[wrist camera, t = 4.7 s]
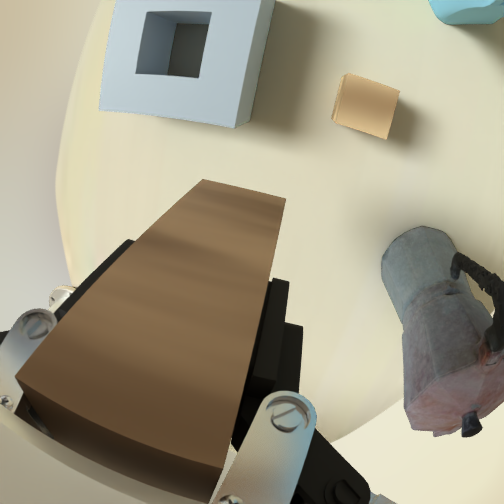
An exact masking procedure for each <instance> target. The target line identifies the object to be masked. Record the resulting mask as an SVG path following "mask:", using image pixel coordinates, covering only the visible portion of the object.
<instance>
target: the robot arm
mask: <svg viewBox="0 0 504 504" xmlns="http://www.w3.org/2000/svg"><path fill="white" fill-rule="evenodd" d="M134 242H135V241H133V240H130V239H127V240H126V241H125V242H124V243H123V244H122V245H121V246H119V247H118V248H117V249H116V250H115V251H114V252H113V253H112V254H111V255H110V256H109V257H108V258H107V259H106V260H105V261H104V262H103V263H102V264H101V265H100V266H99V267H98V268H97V269H96V270H95V271H93V272H92V273H91V274H90V275H89V276H88V277H87V278H86V279H85V280H84V281H83V282H82V283H81V285H80V286H79V287H78V288H77V289H76V288H73V287H70V286H58V287H57V288H55V289H54V290H53V291H52V292H51V294H50V296H49V306H50V308H49V309H48V310H46V309H40V308H39V309H32V310H29V311H27V312H25V313H23V314H22V315H21V316H20V317H19V318H18V319H17V321H16V322H15V324H14V325H13V327H12V328H11V330H9V331H4V332H0V504H207V503H203V502H200V501H196V500H192V499H189V498H185V497H182V496H179V495H176V494H173V493H170V492H167V491H164V490H161V489H158V488H155V487H152V486H150V485H147V484H144V483H142V482H139V481H137V480H134V479H132V478H129V477H127V476H124V475H122V474H120V473H117V472H115V471H113V470H111V469H108V468H106V467H104V466H102V465H100V464H98V463H96V462H94V461H92V460H90V459H88V458H86V457H84V456H82V455H80V454H78V453H76V452H74V451H72V450H71V449H69V448H67V447H65V446H63V445H62V444H60V443H58V442H57V441H56V439H55V438H54V437H53V435H52V434H51V433H50V431H49V430H48V428H47V427H46V426H45V424H44V423H43V421H42V420H41V418H40V417H39V416H38V414H37V413H36V411H35V410H34V408H33V407H32V405H31V403H30V402H29V400H28V399H27V397H26V395H25V394H24V392H23V391H22V389H21V387H20V385H19V384H18V382H17V380H16V379H15V377H14V376H15V375H16V374H17V372H18V371H19V370H20V368H21V367H22V366H23V365H24V363H25V362H26V361H27V360H28V358H29V357H30V356H31V355H32V353H33V352H34V351H35V350H36V348H37V347H38V346H39V345H40V344H41V342H42V341H43V340H44V339H45V338H46V336H47V335H48V334H49V333H50V332H51V331H52V329H53V328H54V327H55V326H56V325H57V324H58V322H59V321H60V320H61V319H62V318H63V317H64V316H65V314H66V313H67V312H68V311H69V310H70V309H71V308H72V307H73V306H74V304H75V303H76V302H77V301H78V300H79V299H80V298H81V297H82V296H83V295H84V293H85V292H86V291H87V290H88V289H89V288H90V287H91V286H92V285H93V284H94V283H95V282H96V281H97V280H98V279H99V277H100V276H101V275H102V274H103V273H104V272H105V271H106V270H107V269H108V268H109V267H110V266H111V265H112V264H113V263H114V262H115V261H116V260H117V259H118V258H119V257H120V256H121V255H122V254H123V253H124V252H125V251H126V250H127V249H128V248H129V247H130V246H131V245H132V244H133V243H134ZM288 291H289V282H288V281H285V280H281V279H277V278H273V279H272V282H270V281H268V285H267V289H266V294H265V298H264V303H263V307H262V312H261V316H260V320H259V325H258V329H257V333H256V338H255V342H254V346H253V350H252V355H251V359H250V363H249V367H248V372H247V376H246V380H245V384H244V388H243V392H242V396H241V400H240V404H239V409H238V413H237V417H236V421H235V425H234V429H233V433H232V436H231V438H232V440H231V444H232V446H233V447H234V448H235V450H236V451H237V452H238V453H237V456H236V458H235V460H234V462H233V464H232V466H231V467H230V469H229V471H228V474H227V475H226V477H225V479H224V481H223V483H222V485H221V487H220V489H219V491H218V493H217V495H216V497H215V498H214V500H213V502H212V504H396V503H395V502H393V501H391V500H389V499H388V498H386V497H385V496H383V495H381V494H379V495H375V494H373V493H372V492H371V491H370V488H369V485H368V483H367V482H366V480H365V479H364V478H363V477H362V476H361V475H360V474H359V473H358V472H357V471H356V470H355V469H354V468H353V467H352V466H351V465H350V464H349V463H348V462H347V461H346V460H345V459H344V458H343V457H342V456H341V455H340V454H339V453H338V452H337V451H336V450H335V449H334V448H333V447H332V445H331V444H330V443H329V442H328V441H327V440H326V439H325V438H324V437H323V436H322V435H321V434H320V433H319V432H318V431H317V430H316V429H315V425H316V418H317V415H316V412H315V408H314V407H313V405H312V404H311V402H310V401H309V400H307V399H306V398H305V397H304V396H302V395H300V394H298V393H299V382H300V370H301V357H302V343H303V326H299V325H295V324H290V323H286V322H285V315H286V307H287V299H288Z"/></svg>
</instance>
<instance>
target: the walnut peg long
mask: <svg viewBox="0 0 504 504" xmlns="http://www.w3.org/2000/svg"><path fill="white" fill-rule="evenodd" d="M285 202H286V199H285V198H281V197H277V196H273V195H269V194H265V193H261V192H257V191H253V190H249V189H244V188H240V187H236V186H232V185H227V184H223V183H218V182H214V181H209V180H205V179H202V180H201V181H200V182H199V183H198V184H197V185H196V186H194V187H193V188H192V189H191V190H190V191H189V192H188V193H186V194H185V195H184V196H183V197H182V198H181V199H180V200H179V201H178V202H176V203H175V204H174V205H173V206H172V207H171V208H170V209H169V210H168V211H167V212H166V213H164V214H163V215H162V216H161V217H160V218H159V219H158V220H157V221H156V222H155V223H154V224H153V225H152V226H151V227H150V228H149V229H147V230H146V231H145V232H144V233H143V234H142V235H141V236H140V237H139V238H138V239H137V240H136V241H135V242H134V243H133V244H132V245H131V246H130V247H129V248H128V249H127V250H126V251H125V252H124V253H123V254H122V255H121V256H120V257H119V258H118V259H117V260H116V261H115V262H114V263H113V264H112V265H111V266H110V267H109V268H108V269H107V270H106V271H105V272H104V273H103V274H102V275H101V276H100V277H99V279H98V280H97V281H96V282H95V283H94V284H93V285H92V286H91V287H90V288H89V289H88V290H87V291H86V292H85V293H84V295H83V296H82V297H81V298H80V299H79V300H78V301H77V302H76V303H75V304H74V306H73V307H72V308H71V309H70V310H69V311H68V312H67V313H66V314H65V316H64V317H63V318H62V319H61V320H60V321H59V322H58V324H57V325H56V326H55V327H54V328H53V329H52V331H51V332H50V333H49V334H48V335H47V336H46V338H45V339H44V340H43V341H42V342H41V344H40V345H39V346H38V347H37V348H36V350H35V351H34V352H33V353H32V355H31V356H30V357H29V358H28V360H27V361H26V362H25V363H24V365H23V366H22V367H21V368H20V370H19V371H18V372H17V374H16V375H15V376H14V377H15V379H16V380H17V382H18V384H19V385H20V387H21V389H22V391H23V392H24V394H25V395H26V397H27V399H28V400H29V402H30V403H31V405H32V407H33V408H34V410H35V411H36V413H37V414H38V416H39V417H40V418H41V420H42V421H43V423H44V424H45V426H46V427H47V428H48V430H49V431H50V433H51V434H52V435H53V437H54V438H55V439H56V441H57V442H58V443H60V444H62V445H63V446H65V447H67V448H69V449H71V450H72V451H74V452H76V453H78V454H80V455H82V456H84V457H86V458H88V459H90V460H92V461H94V462H96V463H98V464H100V465H102V466H104V467H106V468H108V469H111V470H113V471H115V472H117V473H120V474H122V475H124V476H127V477H129V478H132V479H134V480H137V481H139V482H142V483H144V484H147V485H150V486H152V487H155V488H158V489H161V490H164V491H167V492H170V493H173V494H176V495H179V496H182V497H185V498H189V499H192V500H196V501H200V502H203V503H207V504H208V503H209V501H210V499H211V496H212V494H213V491H214V489H215V487H216V485H217V482H218V480H219V478H220V475H221V473H222V470H223V467H224V464H225V460H226V455H227V452H228V448H229V444H230V440H231V436H232V433H233V429H234V425H235V421H236V417H237V413H238V409H239V404H240V400H241V396H242V392H243V388H244V384H245V380H246V376H247V372H248V367H249V363H250V359H251V355H252V350H253V346H254V342H255V338H256V333H257V329H258V325H259V320H260V316H261V312H262V307H263V303H264V298H265V294H266V289H267V285H268V281H269V276H270V271H271V267H272V262H273V258H274V253H275V249H276V244H277V239H278V235H279V230H280V225H281V221H282V216H283V211H284V206H285Z"/></svg>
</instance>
